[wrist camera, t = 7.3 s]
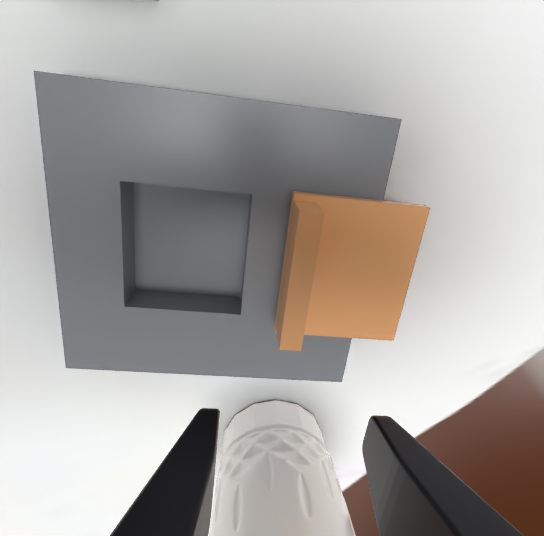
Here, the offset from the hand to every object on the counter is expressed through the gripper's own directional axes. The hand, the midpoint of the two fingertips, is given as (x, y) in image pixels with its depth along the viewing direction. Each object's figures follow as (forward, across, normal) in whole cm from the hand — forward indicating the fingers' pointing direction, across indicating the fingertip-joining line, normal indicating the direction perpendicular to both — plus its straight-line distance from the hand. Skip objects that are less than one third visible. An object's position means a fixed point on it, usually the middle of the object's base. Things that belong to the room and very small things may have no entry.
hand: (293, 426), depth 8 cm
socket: (+13, +2, 0) cm, 13 cm away
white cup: (+13, -2, +14) cm, 19 cm away
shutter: (+10, -4, 0) cm, 11 cm away
